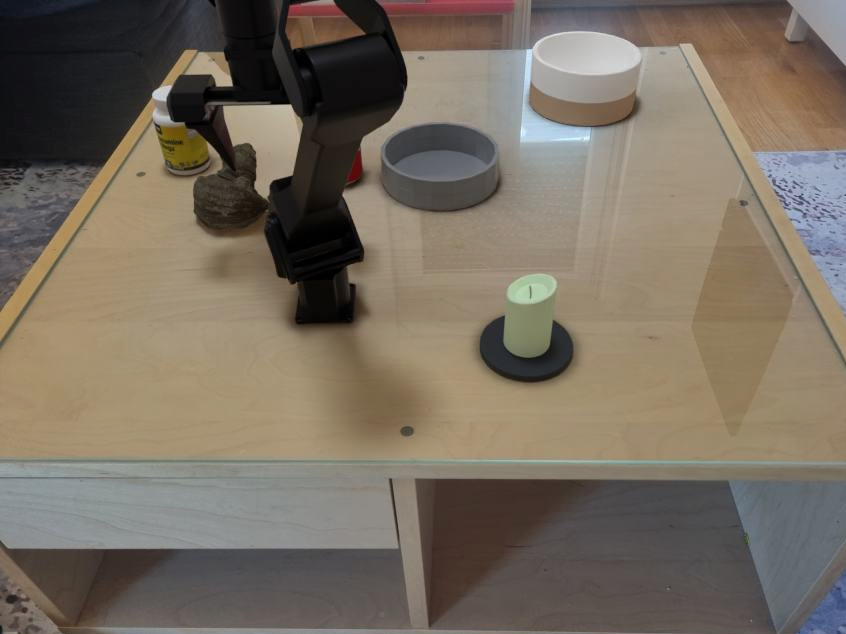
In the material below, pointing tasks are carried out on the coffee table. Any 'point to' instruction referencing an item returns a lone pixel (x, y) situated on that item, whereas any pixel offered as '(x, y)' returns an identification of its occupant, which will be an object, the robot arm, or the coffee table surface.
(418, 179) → the pan
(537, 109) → the bowl
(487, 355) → the coaster
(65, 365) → the coffee table surface
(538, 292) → the candle
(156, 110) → the pill bottle
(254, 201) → the seashell
